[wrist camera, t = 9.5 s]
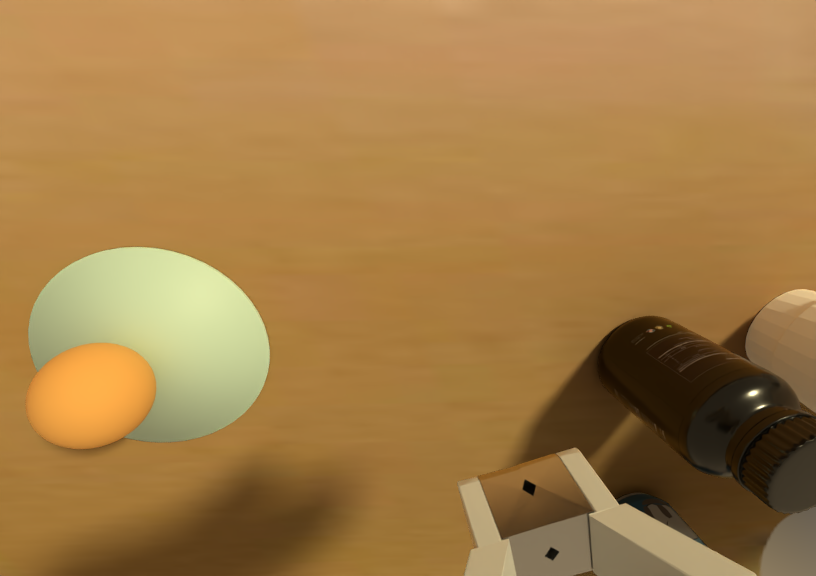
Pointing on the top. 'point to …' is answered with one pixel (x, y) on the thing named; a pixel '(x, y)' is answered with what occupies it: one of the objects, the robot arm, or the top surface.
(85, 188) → the top surface
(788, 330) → the cup
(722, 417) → the supplement bottle
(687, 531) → the soda can
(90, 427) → the ball
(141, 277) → the pale green disc
